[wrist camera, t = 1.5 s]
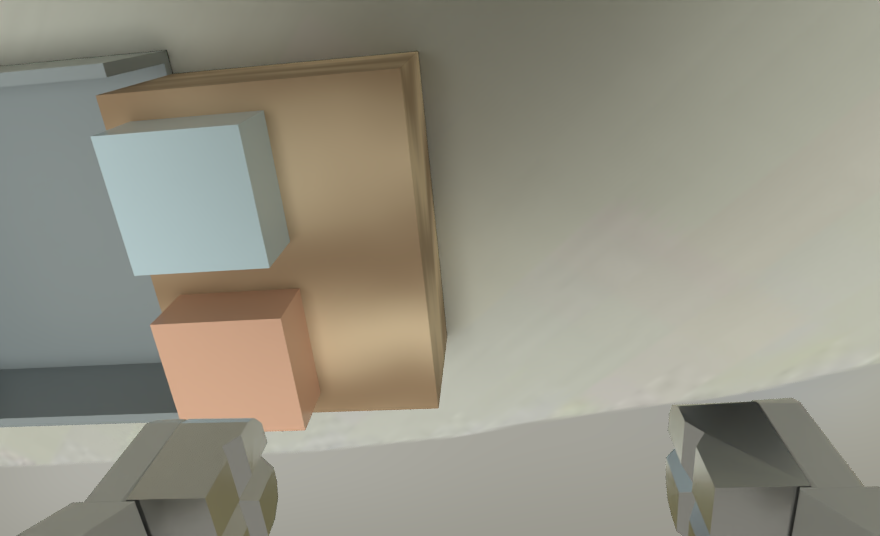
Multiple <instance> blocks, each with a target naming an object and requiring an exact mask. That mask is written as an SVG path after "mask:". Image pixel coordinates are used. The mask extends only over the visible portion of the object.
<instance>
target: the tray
mask: <svg viewBox="0 0 880 536" xmlns="http://www.w3.org/2000/svg"><path fill="white" fill-rule="evenodd" d="M170 74H172V70H171V67H170V63H169V59H168V55H167V51H166V50H163V51H153V52H142V53H132V54H121V55H111V56H100V57H90V58H80V59H69V60H59V61H48V62H38V63H27V64H17V65H6V66H0V427H23V426H54V425H85V424H116V423H148V422H152V421H154V420H169V419H179V416H178V412H177V409H176V406H175V403H174V400H173V397H172V394H171V390H170V387H169V384H168V381H167V378H166V375H165V371H164V368H163V365H162V362H161V359H160V356H159V352H158V349H157V346H156V343H155V340H154V337H153V333H152V330H151V327H150V324H151V323H152V322H153V321H154V320H155V319H156V318H157V317H158V316H159V315H160V314H161V313H162V312H161V309H160V305H159V302H158V299H157V296H156V292H155V289H154V286H153V282H152V279H151V276H150V275H141V276H134V273H133V270H132V267H131V264H130V261H129V257H128V254H127V251H126V248H125V245H124V242H123V238H122V235H121V232H120V229H119V226H118V223H117V219H116V216H115V213H114V210H113V207H112V204H111V200H110V197H109V194H108V191H107V188H106V185H105V181H104V178H103V175H102V172H101V169H100V166H99V162H98V159H97V156H96V153H95V150H94V147H93V143H92V140H91V136H93V135H96V134H98V133H101V132H104V131H106V128H105V125H104V122H103V118H102V115H101V112H100V108H99V105H98V102H97V99H96V95H99V94H103V93H106V92H110V91H113V90H117V89H120V88H124V87H128V86H131V85H135V84H138V83H142V82H145V81H149V80H152V79H156V78H159V77H163V76H167V75H170Z"/></svg>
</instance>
